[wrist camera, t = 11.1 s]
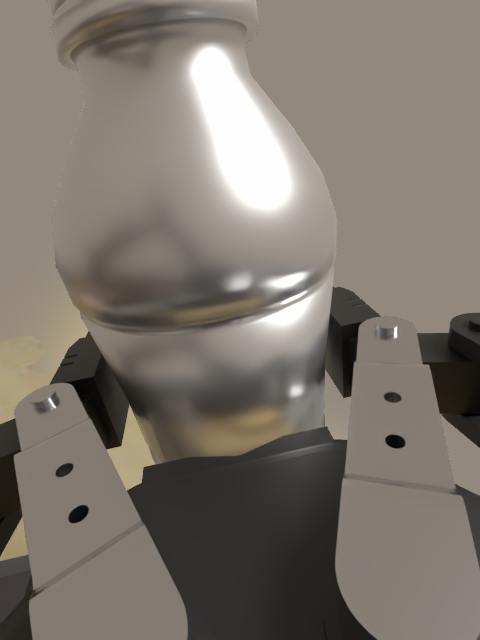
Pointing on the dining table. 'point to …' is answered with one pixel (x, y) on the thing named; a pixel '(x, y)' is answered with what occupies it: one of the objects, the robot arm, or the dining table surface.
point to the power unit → (14, 583)
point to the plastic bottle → (192, 226)
